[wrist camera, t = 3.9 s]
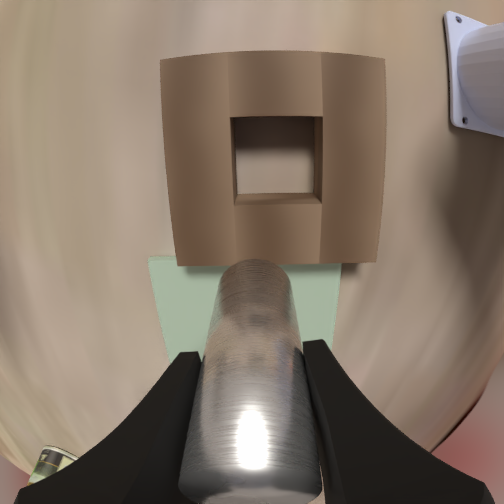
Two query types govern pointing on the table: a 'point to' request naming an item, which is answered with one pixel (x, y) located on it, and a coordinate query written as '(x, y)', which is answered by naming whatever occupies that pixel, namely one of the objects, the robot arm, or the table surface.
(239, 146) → the table surface
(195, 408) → the steel peg
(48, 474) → the coffee can
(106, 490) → the robot arm
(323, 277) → the sage mat
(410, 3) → the table surface
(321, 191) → the eye block
